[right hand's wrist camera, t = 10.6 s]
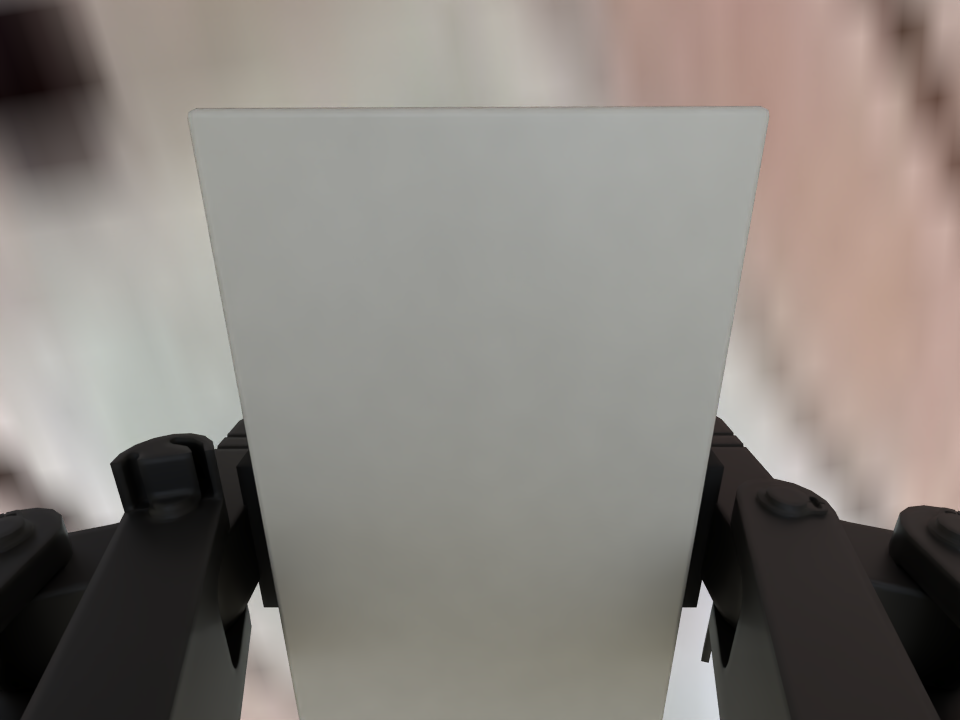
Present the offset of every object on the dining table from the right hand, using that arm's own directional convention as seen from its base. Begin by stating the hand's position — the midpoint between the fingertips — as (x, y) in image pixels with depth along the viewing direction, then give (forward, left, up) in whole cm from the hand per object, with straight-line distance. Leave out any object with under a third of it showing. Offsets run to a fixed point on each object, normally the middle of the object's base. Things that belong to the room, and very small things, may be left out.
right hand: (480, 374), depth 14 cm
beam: (+23, -5, -1) cm, 24 cm away
